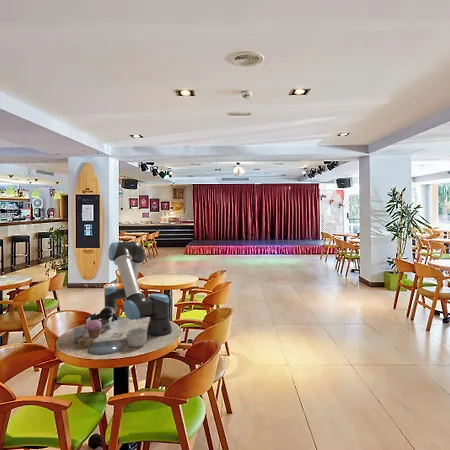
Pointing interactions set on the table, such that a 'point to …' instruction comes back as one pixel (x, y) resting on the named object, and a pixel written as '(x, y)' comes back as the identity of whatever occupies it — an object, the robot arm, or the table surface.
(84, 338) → the walnut block
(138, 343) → the teacup
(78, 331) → the metal tin
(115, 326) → the table surface
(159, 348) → the table surface
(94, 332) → the cupcake
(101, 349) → the plate
